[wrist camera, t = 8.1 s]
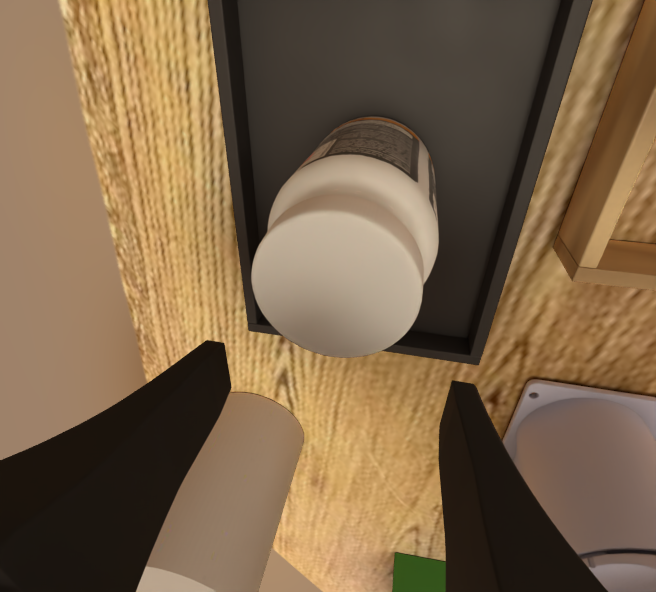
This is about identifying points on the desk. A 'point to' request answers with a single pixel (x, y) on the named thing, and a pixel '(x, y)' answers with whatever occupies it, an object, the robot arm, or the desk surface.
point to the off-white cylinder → (228, 502)
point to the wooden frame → (615, 174)
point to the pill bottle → (351, 241)
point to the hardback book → (418, 574)
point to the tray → (410, 110)
